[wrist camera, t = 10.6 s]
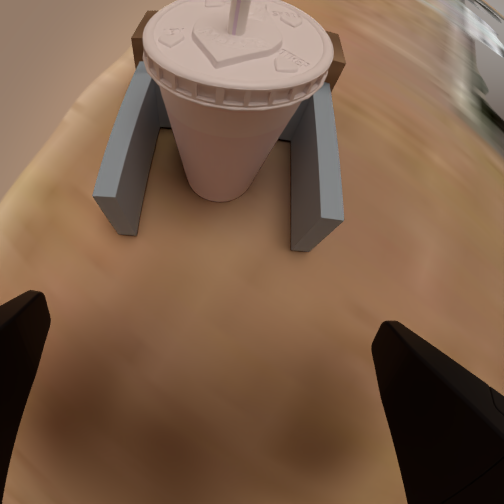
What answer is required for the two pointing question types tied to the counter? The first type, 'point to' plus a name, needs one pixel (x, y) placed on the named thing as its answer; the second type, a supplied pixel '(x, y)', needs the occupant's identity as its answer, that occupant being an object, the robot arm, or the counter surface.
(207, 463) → the counter surface
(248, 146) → the smoothie
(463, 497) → the robot arm
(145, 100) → the cradle
